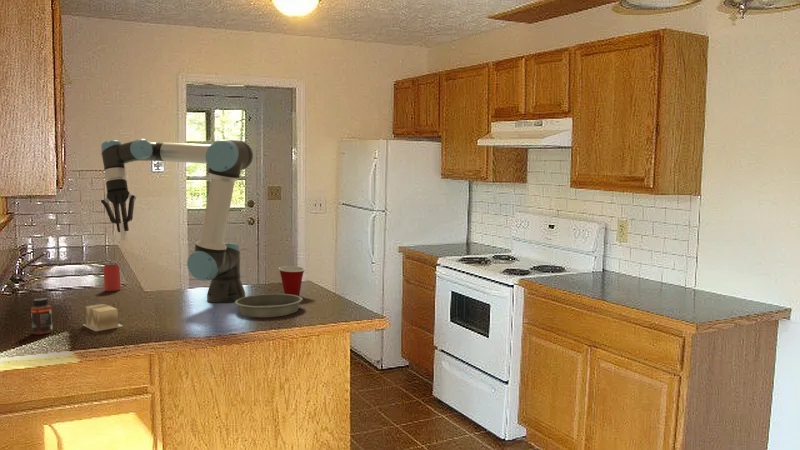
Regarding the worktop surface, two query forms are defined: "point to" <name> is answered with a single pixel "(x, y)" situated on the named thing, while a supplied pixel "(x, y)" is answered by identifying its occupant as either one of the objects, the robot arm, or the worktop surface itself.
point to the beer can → (111, 277)
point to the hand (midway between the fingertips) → (124, 239)
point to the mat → (97, 328)
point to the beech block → (101, 316)
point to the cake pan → (261, 308)
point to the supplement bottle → (41, 317)
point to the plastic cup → (291, 279)
